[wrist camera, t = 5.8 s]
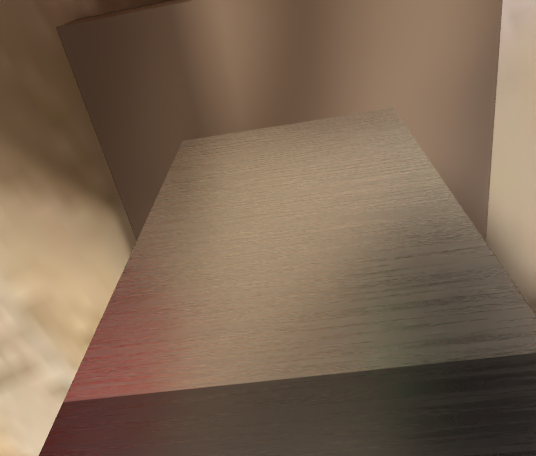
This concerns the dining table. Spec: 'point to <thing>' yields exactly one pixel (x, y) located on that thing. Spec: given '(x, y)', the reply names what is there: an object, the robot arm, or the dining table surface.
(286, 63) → the stand
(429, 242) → the block
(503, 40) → the dining table surface
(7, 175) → the dining table surface
